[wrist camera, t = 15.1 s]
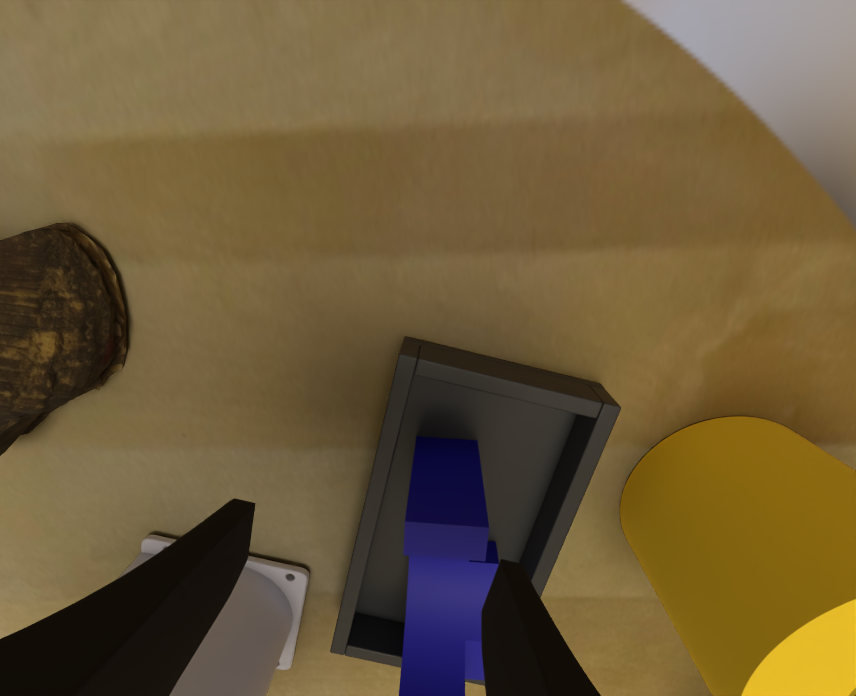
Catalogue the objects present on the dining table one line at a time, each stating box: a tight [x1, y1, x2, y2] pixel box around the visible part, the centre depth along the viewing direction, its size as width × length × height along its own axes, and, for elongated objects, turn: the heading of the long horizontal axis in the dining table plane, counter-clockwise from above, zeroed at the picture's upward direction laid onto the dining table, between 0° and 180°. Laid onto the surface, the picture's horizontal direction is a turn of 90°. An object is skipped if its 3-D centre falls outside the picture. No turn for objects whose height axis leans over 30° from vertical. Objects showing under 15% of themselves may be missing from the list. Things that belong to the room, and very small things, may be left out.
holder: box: [330, 337, 621, 686], centre depth 21 cm, size 10×18×3 cm, turn 166°
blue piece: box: [399, 436, 499, 696], centre depth 20 cm, size 12×4×6 cm, turn 177°
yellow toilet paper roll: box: [620, 416, 856, 696], centre depth 17 cm, size 10×10×9 cm
